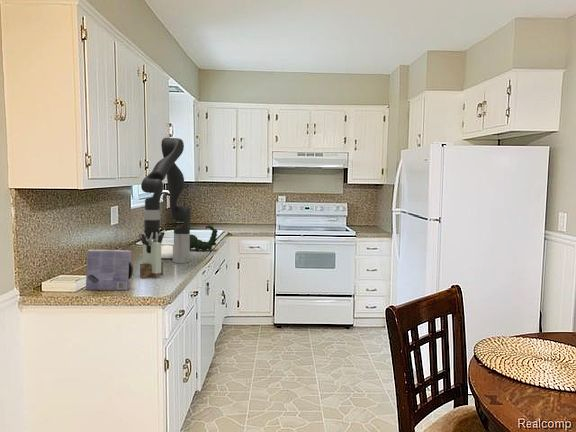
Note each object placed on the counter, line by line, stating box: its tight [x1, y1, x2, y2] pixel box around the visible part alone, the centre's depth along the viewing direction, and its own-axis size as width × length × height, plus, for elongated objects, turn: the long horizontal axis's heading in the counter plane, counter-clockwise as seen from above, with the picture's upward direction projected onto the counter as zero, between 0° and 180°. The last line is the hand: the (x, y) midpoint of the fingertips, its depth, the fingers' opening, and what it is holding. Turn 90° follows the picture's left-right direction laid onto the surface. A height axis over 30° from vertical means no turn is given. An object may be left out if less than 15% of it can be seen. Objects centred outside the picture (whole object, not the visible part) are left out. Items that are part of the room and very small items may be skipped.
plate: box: [161, 244, 173, 259], centre depth 290 cm, size 28×6×27 cm
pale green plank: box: [142, 240, 162, 274], centre depth 230 cm, size 11×3×15 cm, turn 51°
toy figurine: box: [190, 225, 218, 252], centre depth 313 cm, size 9×19×25 cm
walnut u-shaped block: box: [139, 260, 164, 279], centre depth 231 cm, size 12×2×7 cm, turn 141°
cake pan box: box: [85, 249, 134, 291], centre depth 203 cm, size 19×5×18 cm, turn 99°
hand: (151, 252), depth 230 cm, fingers closed on pale green plank, 3 cm apart
